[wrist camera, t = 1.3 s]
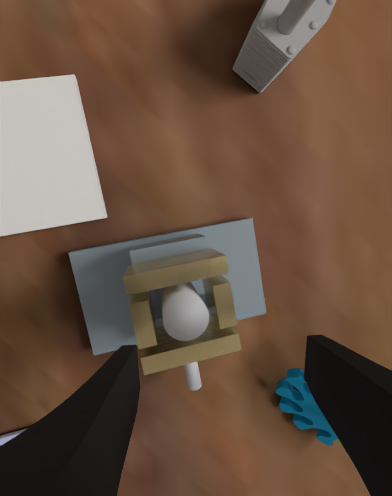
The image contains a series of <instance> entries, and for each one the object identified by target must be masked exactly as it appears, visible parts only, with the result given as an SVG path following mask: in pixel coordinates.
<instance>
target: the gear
mask: <svg viewBox="0 0 392 496" xmlns="http://www.w3.org/2000/svg"><path fill="white" fill-rule="evenodd" d="M291 384H292V385H293V386H294V387H296V388H297V389H298V390H299V391H300V392H299V391H296V390H295V389H294V388H293V387H292V385H291ZM275 392H276V393H277V394H278V395H280V396H281V400H280V404H279V406H280V410H281V411H283V412H286V413H294V417H293V423H294V424H295V425H296V426H297V427H298V428H299V429H301V430H306V429H309V428H317V437H316V438H317V439H318V440H320V441H321V442H323V443H324V444H326V445H332V444H333V441H334V440H335V439H338V437H337V436H336V434H335V433H334V431H333V429H332V428H331V426H330V425H329V423H328V422H327V420H326V418H325V417H324V415H323V413H322V412H321V410H320V409H319V407H318V405H317V404H316V402H315V400H314V398H313V396H312V394H311V392H310V390H309V388H308V385H307V383H306V382H305V381H304V371H303V370H301V369H299V368H294V369H289V370H288V373H287V377H286V380H285V379H281V380H280V381H279V382H278V383H277V387H276V391H275ZM338 442H339V443H340V444H341V442H340V441H339V439H338Z"/></svg>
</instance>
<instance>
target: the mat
mask: <svg viewBox="0 0 392 496" xmlns="http://www.w3.org/2000/svg"><path fill="white" fill-rule="evenodd" d="M103 218H107V213H106V209H105V204H104V200H103V195H102V191H101V186H100V182H99V177H98V173H97V168H96V164H95V160H94V155H93V151H92V146H91V142H90V137H89V133H88V128H87V124H86V119H85V115H84V110H83V106H82V101H81V97H80V92H79V88H78V83H77V79H76V77H75V75H65V76H55V77H45V78H35V79H25V80H15V81H5V82H0V237H1V236H6V235H12V234H18V233H24V232H29V231H35V230H41V229H46V228H52V227H58V226H63V225H69V224H75V223H81V222H86V221H92V220H98V219H103Z"/></svg>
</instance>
